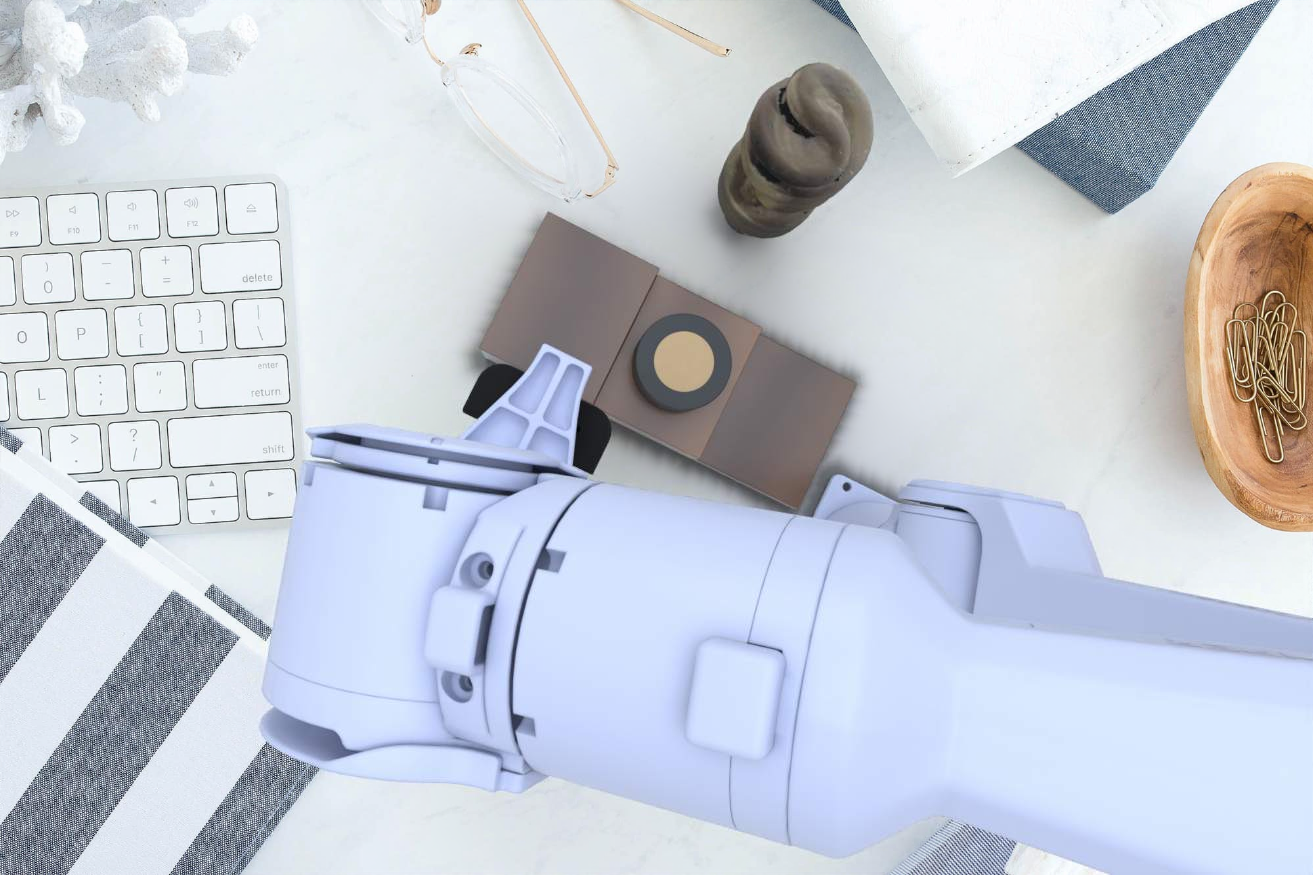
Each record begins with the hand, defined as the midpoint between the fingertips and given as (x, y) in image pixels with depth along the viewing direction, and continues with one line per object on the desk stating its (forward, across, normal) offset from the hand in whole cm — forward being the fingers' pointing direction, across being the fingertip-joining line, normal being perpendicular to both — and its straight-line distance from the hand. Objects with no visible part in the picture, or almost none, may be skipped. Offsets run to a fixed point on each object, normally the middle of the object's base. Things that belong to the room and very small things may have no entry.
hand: (495, 518), depth 42 cm
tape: (+6, -11, +5) cm, 14 cm away
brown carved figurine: (+10, -21, +5) cm, 24 cm away
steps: (+9, -11, +5) cm, 15 cm away
